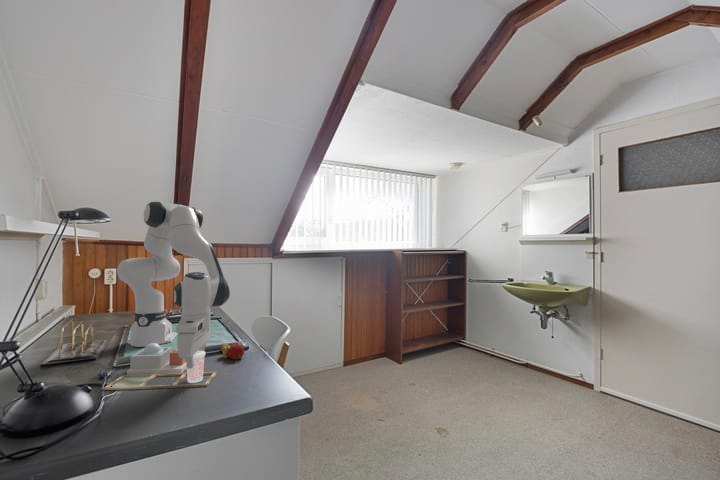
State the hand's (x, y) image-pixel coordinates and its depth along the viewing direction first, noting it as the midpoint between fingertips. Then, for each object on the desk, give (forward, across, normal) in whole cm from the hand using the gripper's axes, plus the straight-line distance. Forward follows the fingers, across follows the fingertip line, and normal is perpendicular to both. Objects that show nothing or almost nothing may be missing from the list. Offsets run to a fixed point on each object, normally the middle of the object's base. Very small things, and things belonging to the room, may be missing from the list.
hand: (195, 362), depth 114 cm
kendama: (+6, -25, +5) cm, 27 cm away
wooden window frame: (+6, 0, -10) cm, 12 cm away
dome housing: (+6, -13, -16) cm, 21 cm away
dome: (+4, -13, -20) cm, 24 cm away
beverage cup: (+6, 0, 0) cm, 6 cm away
